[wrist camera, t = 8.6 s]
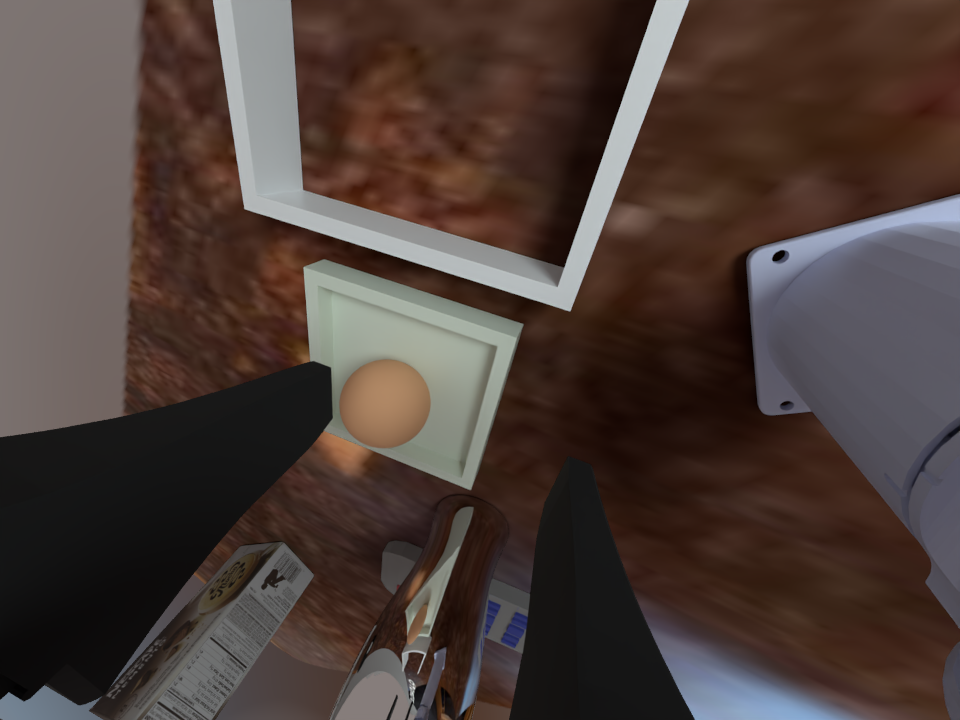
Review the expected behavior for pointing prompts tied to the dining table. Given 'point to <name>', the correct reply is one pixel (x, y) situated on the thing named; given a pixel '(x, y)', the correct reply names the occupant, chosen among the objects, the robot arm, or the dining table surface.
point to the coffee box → (210, 640)
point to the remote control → (503, 603)
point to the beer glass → (431, 624)
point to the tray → (414, 360)
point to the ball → (384, 403)
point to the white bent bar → (279, 194)
